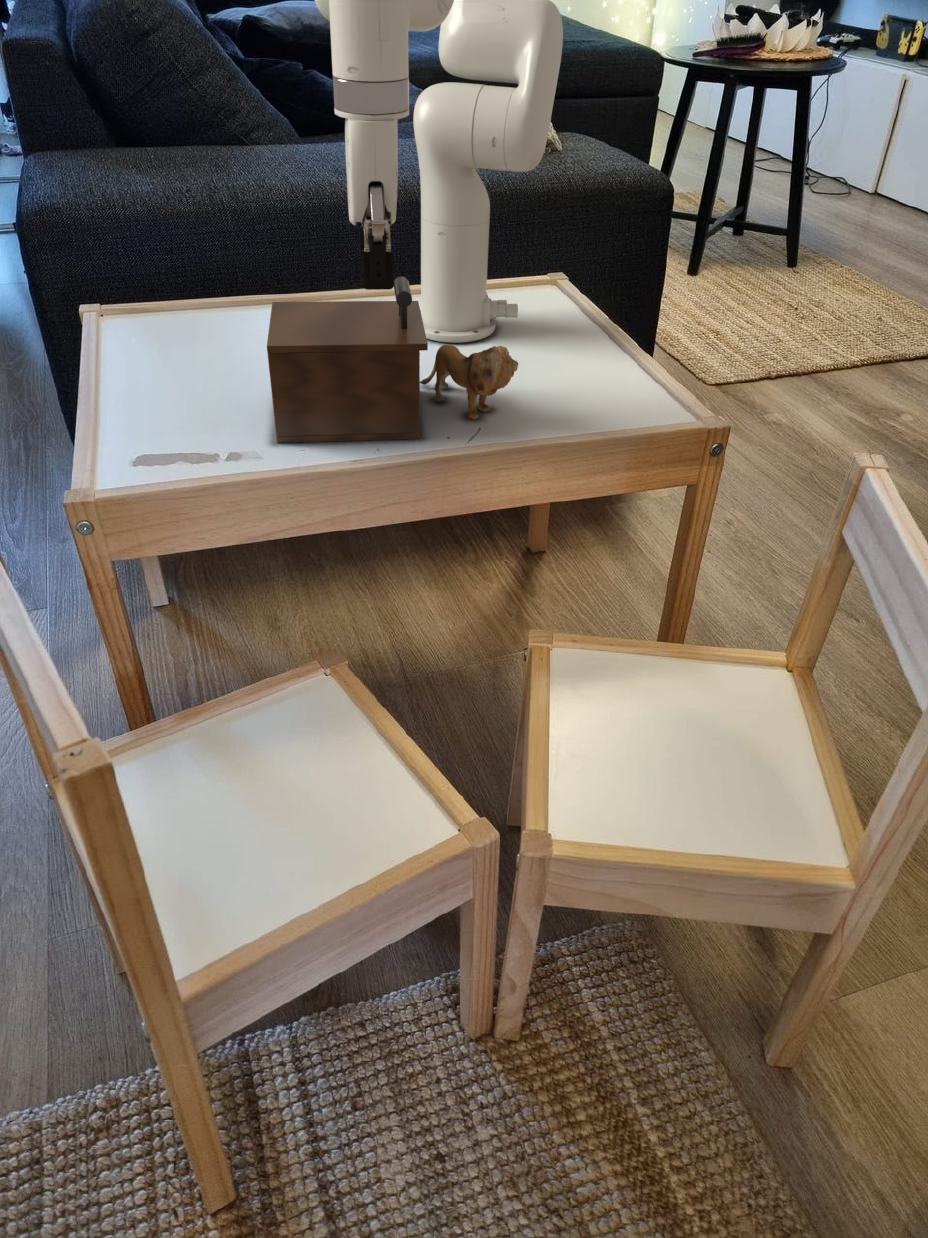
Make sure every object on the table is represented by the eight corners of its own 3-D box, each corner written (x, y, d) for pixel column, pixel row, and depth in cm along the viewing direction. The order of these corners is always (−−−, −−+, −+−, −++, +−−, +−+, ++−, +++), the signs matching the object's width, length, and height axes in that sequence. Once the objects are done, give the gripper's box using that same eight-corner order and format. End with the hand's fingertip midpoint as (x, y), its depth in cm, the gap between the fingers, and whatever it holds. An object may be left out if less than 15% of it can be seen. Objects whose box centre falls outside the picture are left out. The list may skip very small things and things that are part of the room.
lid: (418, 306, 112) (418, 264, 109) (427, 350, 102) (428, 304, 99) (272, 308, 110) (268, 264, 107) (267, 353, 100) (262, 306, 97)
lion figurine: (521, 415, 114) (526, 345, 108) (494, 429, 111) (498, 358, 105) (433, 380, 121) (433, 313, 116) (405, 393, 118) (404, 324, 112)
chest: (411, 389, 119) (410, 306, 112) (419, 438, 108) (419, 350, 102) (281, 392, 117) (273, 308, 110) (277, 442, 107) (267, 353, 100)
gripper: (333, 82, 98) (341, 251, 109) (334, 113, 85) (344, 303, 96) (403, 83, 99) (404, 251, 110) (415, 114, 86) (416, 302, 96)
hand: (376, 274), depth 103 cm, fingers open, 8 cm apart
